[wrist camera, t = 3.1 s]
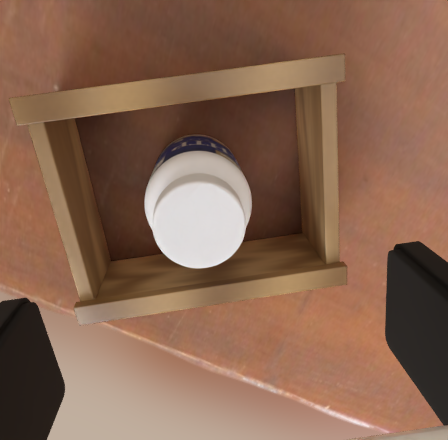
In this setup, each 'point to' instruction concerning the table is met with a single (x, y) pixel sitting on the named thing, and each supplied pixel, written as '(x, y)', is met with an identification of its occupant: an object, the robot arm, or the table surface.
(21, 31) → the table surface
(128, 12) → the table surface
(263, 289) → the wooden box
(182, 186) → the pill bottle
